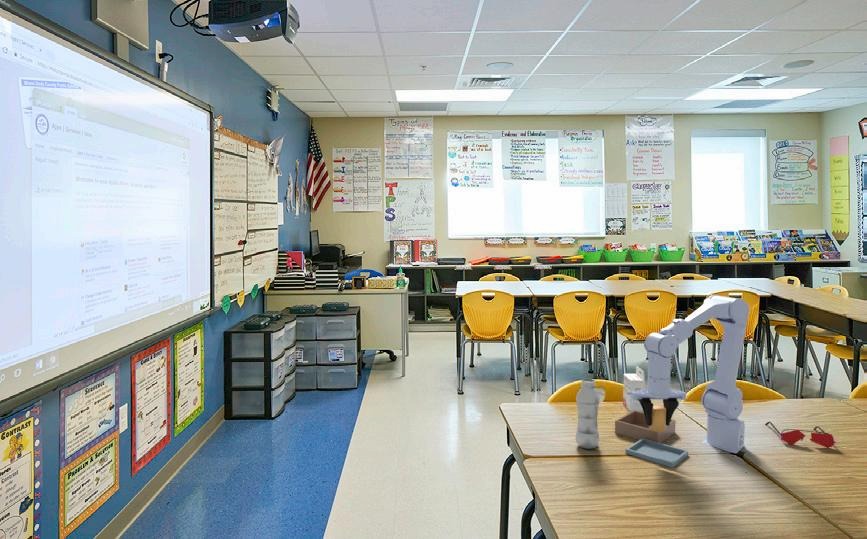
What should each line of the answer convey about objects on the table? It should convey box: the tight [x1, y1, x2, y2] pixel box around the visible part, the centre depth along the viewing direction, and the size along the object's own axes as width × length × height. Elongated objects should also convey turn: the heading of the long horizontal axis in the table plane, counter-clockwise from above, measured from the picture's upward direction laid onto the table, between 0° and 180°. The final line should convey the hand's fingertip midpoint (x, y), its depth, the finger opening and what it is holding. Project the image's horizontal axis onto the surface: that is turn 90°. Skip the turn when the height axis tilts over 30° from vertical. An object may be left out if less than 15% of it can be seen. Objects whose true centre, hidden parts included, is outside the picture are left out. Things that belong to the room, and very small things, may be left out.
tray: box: [625, 438, 689, 469], centre depth 149 cm, size 13×11×2 cm
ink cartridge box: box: [622, 365, 646, 412], centre depth 187 cm, size 9×5×15 cm, turn 179°
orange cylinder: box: [649, 405, 666, 432], centre depth 148 cm, size 4×4×6 cm
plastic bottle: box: [575, 377, 600, 450], centre depth 155 cm, size 6×7×20 cm
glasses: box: [764, 421, 837, 448], centre depth 163 cm, size 14×16×5 cm
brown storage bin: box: [614, 410, 677, 443], centre depth 164 cm, size 13×13×4 cm
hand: (657, 424), depth 148 cm, fingers closed on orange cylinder, 4 cm apart
